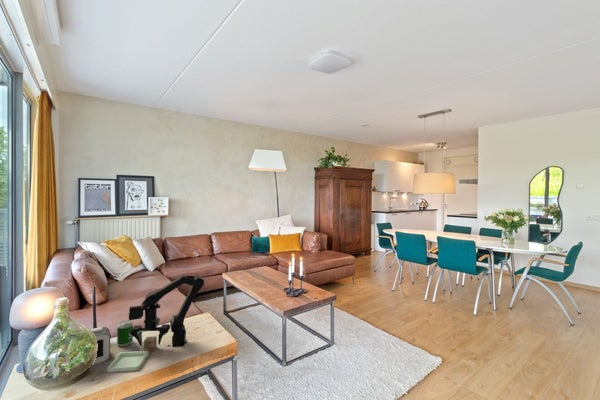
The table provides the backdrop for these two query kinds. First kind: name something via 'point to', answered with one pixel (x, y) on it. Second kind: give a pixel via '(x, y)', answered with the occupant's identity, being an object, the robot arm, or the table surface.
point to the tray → (128, 361)
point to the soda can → (124, 333)
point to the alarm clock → (102, 344)
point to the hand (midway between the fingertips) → (150, 345)
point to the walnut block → (150, 344)
